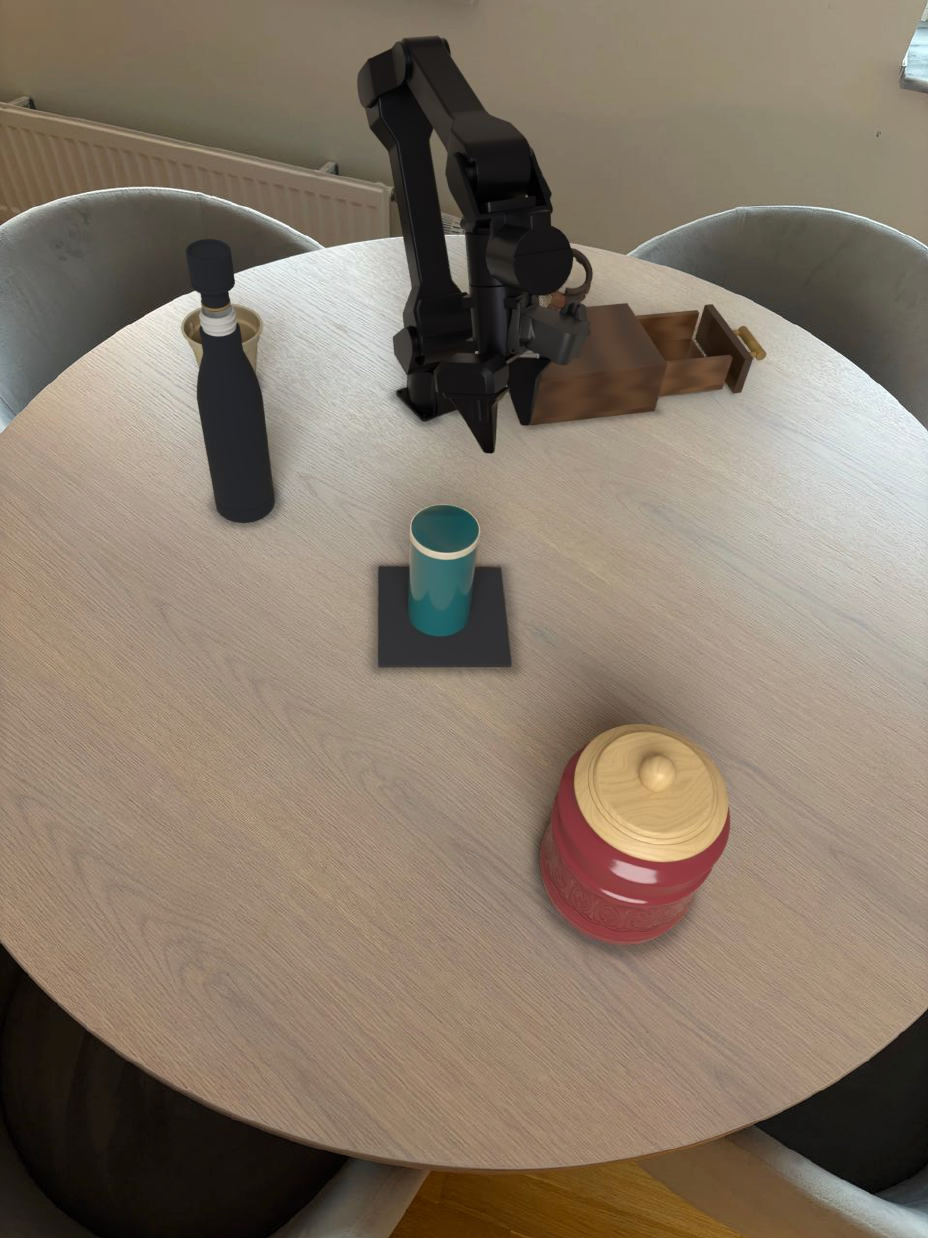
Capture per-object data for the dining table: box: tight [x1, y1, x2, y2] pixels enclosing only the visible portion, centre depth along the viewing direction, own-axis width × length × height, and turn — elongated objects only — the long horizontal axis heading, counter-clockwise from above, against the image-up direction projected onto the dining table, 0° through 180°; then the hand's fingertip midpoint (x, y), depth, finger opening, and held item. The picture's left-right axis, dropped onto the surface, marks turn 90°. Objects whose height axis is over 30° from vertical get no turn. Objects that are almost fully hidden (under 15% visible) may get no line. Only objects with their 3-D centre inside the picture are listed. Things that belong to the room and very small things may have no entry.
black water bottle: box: [185, 238, 276, 524], centre depth 94 cm, size 6×6×30 cm
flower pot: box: [180, 302, 264, 375], centre depth 115 cm, size 9×9×9 cm
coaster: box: [377, 566, 512, 668], centre depth 97 cm, size 13×13×1 cm
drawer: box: [635, 303, 767, 397], centre depth 124 cm, size 20×12×5 cm, turn 105°
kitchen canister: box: [539, 723, 731, 946], centre depth 73 cm, size 13×13×18 cm
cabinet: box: [530, 302, 667, 426], centre depth 121 cm, size 17×14×7 cm
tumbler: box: [407, 503, 481, 636], centre depth 92 cm, size 6×6×12 cm
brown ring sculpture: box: [546, 247, 594, 309], centre depth 134 cm, size 12×10×8 cm
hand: (508, 438), depth 98 cm, fingers open, 9 cm apart
